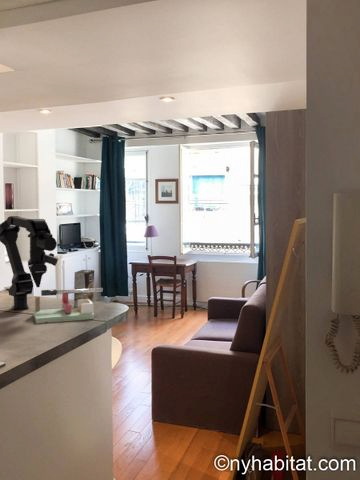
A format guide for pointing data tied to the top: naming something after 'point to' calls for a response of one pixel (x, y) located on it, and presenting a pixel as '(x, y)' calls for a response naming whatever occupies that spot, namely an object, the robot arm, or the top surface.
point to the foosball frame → (60, 315)
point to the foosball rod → (65, 302)
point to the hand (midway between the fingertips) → (37, 285)
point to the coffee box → (83, 285)
